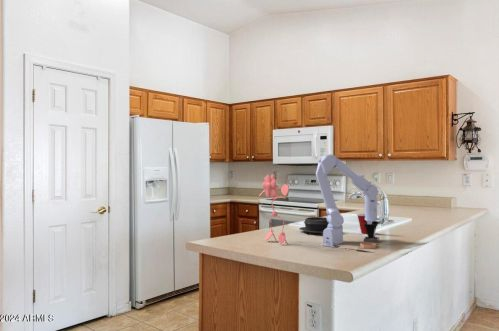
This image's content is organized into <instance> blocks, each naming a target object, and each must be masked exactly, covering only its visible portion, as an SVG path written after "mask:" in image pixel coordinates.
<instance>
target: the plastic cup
mask: <svg viewBox="0 0 499 331" xmlns="http://www.w3.org/2000/svg"><path fill="white" fill-rule="evenodd" d="M356 215H357V220H358V223H359V224H358V225H359V228H360V232H361V234H362V235H367V230H366V228H365V226H364V223H366V222H367V221H366V220H365V213H356Z"/></svg>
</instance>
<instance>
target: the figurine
mask: <svg viewBox="0 0 499 331" xmlns="http://www.w3.org/2000/svg"><path fill="white" fill-rule="evenodd" d="M263 180H264V182H262V184H261V187H262V188H263V191H262V192H261V193H259V195H258V198H259V197H261V196H262V194H263V193H264V194H265V197H266V199H269V198H271V199H272V200H271V202H270V203H271V207H272V210H273V211H272V213H271V216H270V217H269V218H270V219H269V220H270V222H272V218H273V217H274V218H276V217H277V218H279V219H281V220H283V224H282V231H281V232H280V233H279V235H278V237H277V239H276V237H275V234H274V229H273V228H272V226H270V231H269V232H267V234H266V236H265V239H264V241H265V242H267V241H268V240H270V239H271V237H272V236H273V238H274V240H275V241H276V240H278V242H279V244H280V245H282V244H284V242H285V244H286V243H287V244H288V241H287V240H286V237H287V236H286V233H285V232H284V228H285V226H284V225H285V219H284V218H282V217H280V216H278V212H277V211H275V208H274V204H273V202H274V201H275V200H277V199H278V198H282V199H285V200H286V199H287V194H288V193H289V191H290V188H289V186H288V185H287V184H286V183H284V184H283V185H282V186H281V194H282V195H283V196H280V195H279V194H278V192H277V191H278V190H279V188H280V187H279V185H278V184H277V181H276V179H275V176H274V174H271V176H270V175H269V174H266V176H265V177H264V179H263ZM269 238H270V239H269Z"/></svg>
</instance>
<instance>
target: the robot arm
mask: <svg viewBox="0 0 499 331" xmlns="http://www.w3.org/2000/svg"><path fill="white" fill-rule="evenodd" d="M317 162H318V163H317V167H316V171H315V177H316V179H317V183H318V186H319V189H320V192H321V193H320V194H321V196H322V199H323V202H324V205H325V208H326V209H325V210H326V211H325V213H326V218H327V222H328V223H329V224H328V227H327V228H326V229H324V231H323V234H322V244H321V245H322V246H325V247H331V248H338V247H340V245H339V244H343V243H344V227H343V224H344V221H345V220H344V219H345V218H344V217H343V215H342V214H341V213H340V210H339V209H338V207H337V204H336V202H335V201H336V200H335V197H334V195H333V191H332V187H331V185H330V181H329V178H328V175H329V173H330V171H331V170H332V169H337V170H340V171H341V173H343V174H344V175H346V177H348V178H350V179H351V180H350V181H351V184H353V185H354V186H355V187H356V188H357V189H359V190H360V191H361V192H362V194H363V195H364V214H365V220H366V221H367V222H366V223H364V226H365V228H366V230H367V234H366V235H367V237H368V238H369V239H373V237H374V230H375V232H376V231H377V226H378V224H379V221H380V220H381V218H380V217H379V218H378V198H377V196H378V194H379V192H380V191H379V190H378V187H377V186H376V185H374V184H372V181H369V180H368V179H366V178H365V175H364V174H360V173H357V174H356V173H355V172H354V171H353V170H352V169H351V168H350V167H348V165H347V164H346V163H344V162H343V161H342V160H341V159H339V157H336V156H335V155H334V154H331V153H330V154H325V155H322V156H321V157H320V158H319V161H317ZM337 244H338V245H337Z"/></svg>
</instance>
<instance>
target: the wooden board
mask: <svg viewBox="0 0 499 331" xmlns="http://www.w3.org/2000/svg"><path fill="white" fill-rule="evenodd" d="M381 241H382V240H380V239H379V242H378V243H375V244H376V248H373V249H372V250H377V249H378V247H379V246H380V243H381ZM361 243H364V239H362V242H361ZM370 243H373V242H370ZM357 252H358V253H373V254H375V252H374V251H369V250H367V249H366V248H361V247H360V245H358V247H357Z"/></svg>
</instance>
